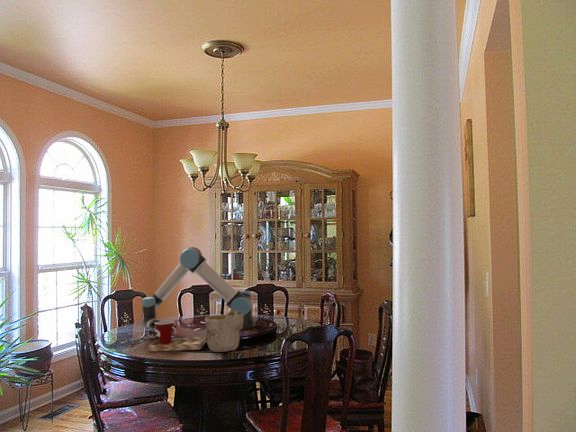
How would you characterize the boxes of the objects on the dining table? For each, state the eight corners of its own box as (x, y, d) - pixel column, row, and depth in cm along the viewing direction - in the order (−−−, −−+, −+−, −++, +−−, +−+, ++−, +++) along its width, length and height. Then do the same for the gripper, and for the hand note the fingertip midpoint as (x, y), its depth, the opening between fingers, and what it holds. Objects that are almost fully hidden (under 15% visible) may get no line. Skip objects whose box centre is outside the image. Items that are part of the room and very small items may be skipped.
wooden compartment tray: (206, 342, 283) (206, 336, 283) (200, 349, 268) (199, 344, 268) (157, 344, 285) (156, 338, 285) (148, 351, 270) (148, 346, 270)
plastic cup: (177, 339, 282) (176, 319, 282) (171, 345, 271) (170, 323, 271) (159, 340, 283) (158, 319, 283) (152, 345, 272) (151, 324, 272)
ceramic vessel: (185, 333, 271) (211, 295, 277) (220, 355, 278) (244, 317, 285) (195, 342, 250) (222, 300, 257) (232, 365, 258) (258, 323, 264)
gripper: (172, 329, 298) (186, 335, 279) (137, 335, 286) (149, 343, 267) (171, 316, 298) (185, 322, 279) (136, 322, 286) (148, 329, 267)
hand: (167, 332), depth 273 cm, fingers closed on plastic cup, 9 cm apart
